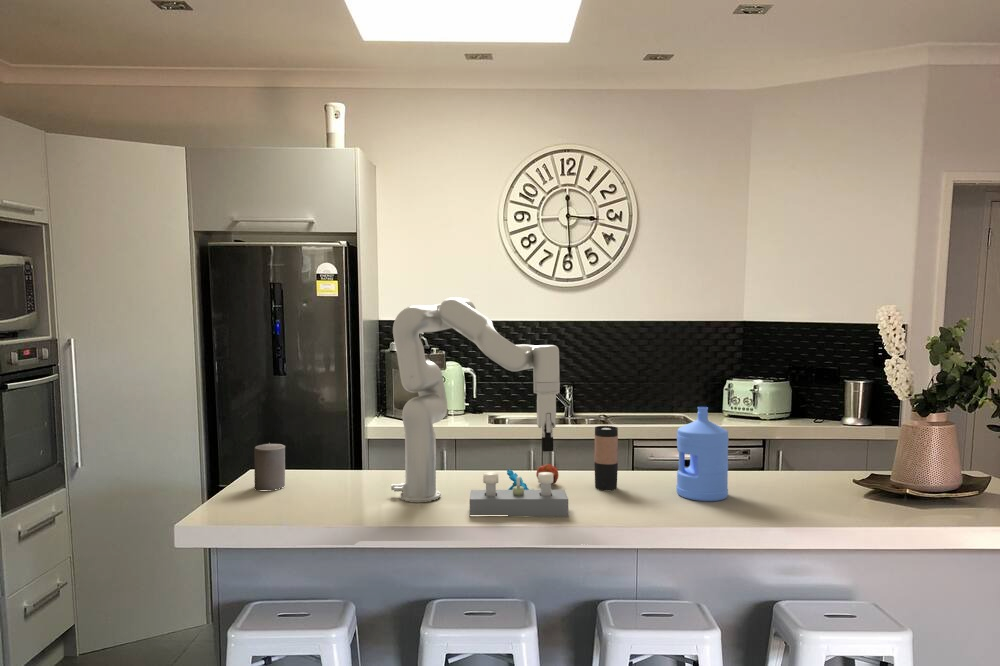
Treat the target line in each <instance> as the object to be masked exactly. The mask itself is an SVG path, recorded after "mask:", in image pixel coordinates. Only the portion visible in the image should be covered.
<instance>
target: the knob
mask: <svg viewBox="0 0 1000 666" xmlns="http://www.w3.org/2000/svg"><path fill="white" fill-rule="evenodd" d="M482 475H483V476H482V477H483V479H482V481H483V484H485V490H486V496H496V490H497V488H496V487H497V486H496V485H497V484H498V483H499V473H498V472H495V471H487V472H483V474H482Z"/></svg>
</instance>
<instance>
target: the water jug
mask: <svg viewBox="0 0 1000 666" xmlns="http://www.w3.org/2000/svg"><path fill="white" fill-rule="evenodd" d="M708 410H709V407H707V406H697V418H696V420H694V421H691V422H689V423H687V424H685V425H682V426H680V427H678V428H677V434H676V442H677V446H676V447H677V448H676V449H677V451H678V470H677V471H676V478H677V479H676V493H677V494H678V495H679V496H680V497H682V498H684V499H687V500H692V501H698V502H719V501H723V500H725V499H727V498H728V496H729V489H728V481H729V478H728V476H729V475H728V474H729V473H728V471H729V461H728V460H729V440H730V439H729V431H728V430H727V429H726V428H724V427H722V426H720V425H718V424H716V423H714V422H711V421H710V420H709V419H708V418H709V417H708V416H709V412H708ZM685 455H689V465H688V467H685V463H686V462H685V459H686V458H685Z"/></svg>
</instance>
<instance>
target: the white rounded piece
mask: <svg viewBox="0 0 1000 666" xmlns="http://www.w3.org/2000/svg"><path fill="white" fill-rule="evenodd" d="M537 480H538V484H540V490H541V496H551V490H552V485H551V483H553V473H550V472H541V473H538V478H537Z"/></svg>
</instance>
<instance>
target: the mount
mask: <svg viewBox="0 0 1000 666" xmlns="http://www.w3.org/2000/svg"><path fill="white" fill-rule="evenodd" d="M469 492H470V493H469V516H470V515H508V516H534V517H535V518H536V517H537V518H541V517H542V518H543V517H546V518H547V517H548V518H550V517H555V518H556V517H558V518H562V517H566V518H567V517H569V497H568V495H567V492H566V490H565V489H551V496H541V489H529V490H524V495H522V496H515V495H513V490H508V489H496V496H486V489H470V491H469ZM534 517H533V518H534Z"/></svg>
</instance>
